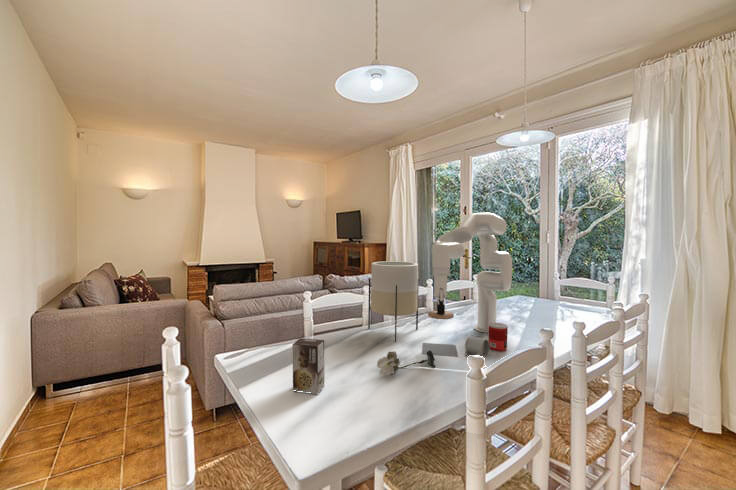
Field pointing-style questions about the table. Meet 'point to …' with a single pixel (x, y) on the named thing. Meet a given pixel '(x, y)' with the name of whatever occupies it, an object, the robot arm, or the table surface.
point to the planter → (394, 289)
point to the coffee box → (308, 365)
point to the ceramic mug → (477, 346)
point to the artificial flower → (398, 362)
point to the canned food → (498, 337)
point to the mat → (440, 349)
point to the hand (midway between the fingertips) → (440, 312)
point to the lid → (440, 315)
